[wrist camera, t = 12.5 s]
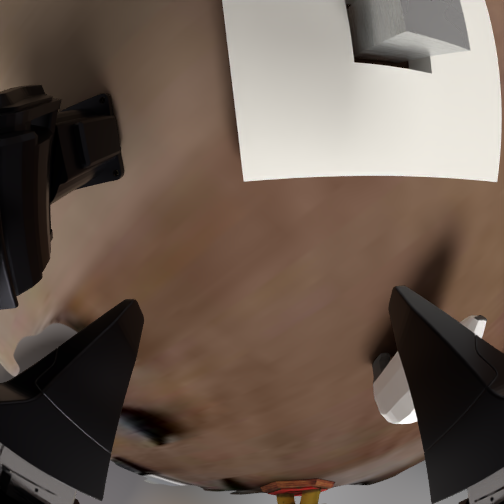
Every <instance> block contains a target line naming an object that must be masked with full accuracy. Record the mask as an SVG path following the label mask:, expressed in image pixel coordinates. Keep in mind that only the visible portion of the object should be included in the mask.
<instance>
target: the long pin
mask: <svg viewBox="0 0 504 504" xmlns="http://www.w3.org/2000/svg"><path fill="white" fill-rule="evenodd" d="M347 15H348V21H349V27H350V33H351V40H352V48H353V56H354V58H362V59H372V60H380V61H387V62H394V63H400V62H405V61H409V60H414V59H419V58H424V57H430V56H435V55H441V54H448V53H455V52H463V51H470V44H469V38H468V33H467V28H466V23H465V18H464V14H463V10H462V6H461V2H460V0H356V1H355V2H354V3H353V4H352V5H351V6H350V7H349V8H348V9H347Z"/></svg>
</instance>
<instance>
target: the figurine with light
mask: <svg viewBox="0 0 504 504" xmlns="http://www.w3.org/2000/svg"><path fill="white" fill-rule="evenodd" d="M334 483H335V482H332V481H327V480H322V479H318V478H317V479H307V480H294V481H275V482H273V483H270V484H268V485H265V486H262V487H260V488H261V490H262V491H263V492H264V493H268V494H271V495H277V502H278V504H295V501H294V496H302V497H301V502H300V504H318V499H319V494H320V492H322V491H325V490H327V489H329V488H332V487H333V485H334Z"/></svg>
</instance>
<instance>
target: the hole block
mask: <svg viewBox="0 0 504 504" xmlns="http://www.w3.org/2000/svg"><path fill="white" fill-rule="evenodd" d="M355 1H356V0H222V3H223V11H224V20H225V28H226V36H227V45H228V53H229V62H230V70H231V78H232V87H233V95H234V103H235V112H236V120H237V128H238V137H239V145H240V154H241V162H242V170H243V179H244V182H245V181H256V180H269V179H284V178H302V177H325V176H420V177H442V178H458V179H471V180H482V181H492V182H497V178H498V170H499V160H500V147H501V89H500V77H499V67H498V60H497V53H496V47H495V41H494V36H493V31H492V26H491V22H490V18H489V14H488V10H487V7H486V3H485V0H460V2H461V6H462V10H463V14H464V18H465V23H466V28H467V33H468V38H469V44H470V51H463V52H455V53H448V54H441V55H435V56H430V57H424V58H419V59H414V60H409V61H408V63H409V69H405V68H399V67H393V66H385V65H377V64H368V63H356V62H354V56H353V48H352V40H351V33H350V27H349V21H348V15H347V10H346V4H351V5H352V4H353V3H354V2H355Z"/></svg>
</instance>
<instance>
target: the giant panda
mask: <svg viewBox="0 0 504 504" xmlns="http://www.w3.org/2000/svg"><path fill="white" fill-rule="evenodd" d="M486 321H487V319H486V318H485V317H483V316H481V315H479V316H474V315H472V316H468V317H467V318H465V319H464V320H462V321H461V322H460V323H461V324H462V325H464V326H465V327H466V328H468V329H469V330H471V331H472V332H473V333H475V335H478V336H479V337H480V338H482V336H483V332H484V328H485V325H486ZM389 360H390V354H389V353H381V354H380V355H379V356H378V357H377V358H376V360H375V361H374V363H373V365H372V367H373V374H374V381H373V389H374V398H375V401H376V403H377V406H378V409H379V411H380V414H381V415H382V416H383V417H384V418H385V419H386V420H387V421H388V422H391V423H393V424H409V423H413V422H417V417H416V413H415V409H414V405H413V401H412V397H411V393H410V390H409V386H408V383H407V379H406V376H405V372H404V369H403V366H402V362H401V359H400V356H399V353H398V351H397V353H396V354H395V355H394V357H393V358H392V359H391V361H390V362H389Z"/></svg>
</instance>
